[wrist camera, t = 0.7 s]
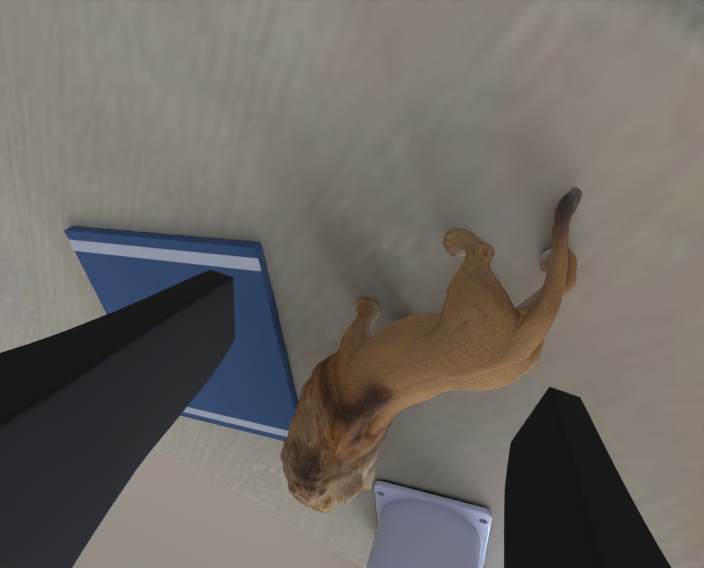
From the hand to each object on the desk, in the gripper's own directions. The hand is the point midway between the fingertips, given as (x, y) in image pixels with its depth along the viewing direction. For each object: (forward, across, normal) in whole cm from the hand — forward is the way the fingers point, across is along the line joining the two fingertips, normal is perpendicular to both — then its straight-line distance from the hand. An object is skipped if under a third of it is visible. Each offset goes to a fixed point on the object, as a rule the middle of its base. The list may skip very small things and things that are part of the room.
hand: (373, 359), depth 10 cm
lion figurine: (+10, -1, +5) cm, 12 cm away
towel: (+10, +12, +15) cm, 21 cm away
